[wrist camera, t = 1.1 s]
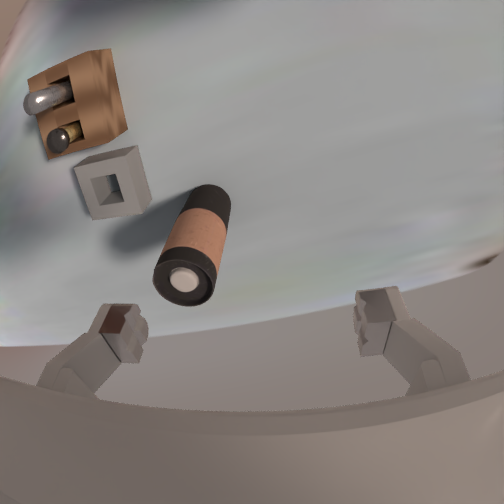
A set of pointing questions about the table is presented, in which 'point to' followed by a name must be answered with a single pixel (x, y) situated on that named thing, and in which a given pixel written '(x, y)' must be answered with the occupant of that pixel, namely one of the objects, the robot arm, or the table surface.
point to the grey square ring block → (129, 178)
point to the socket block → (83, 100)
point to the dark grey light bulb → (63, 137)
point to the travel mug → (194, 248)
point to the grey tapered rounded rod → (47, 97)
